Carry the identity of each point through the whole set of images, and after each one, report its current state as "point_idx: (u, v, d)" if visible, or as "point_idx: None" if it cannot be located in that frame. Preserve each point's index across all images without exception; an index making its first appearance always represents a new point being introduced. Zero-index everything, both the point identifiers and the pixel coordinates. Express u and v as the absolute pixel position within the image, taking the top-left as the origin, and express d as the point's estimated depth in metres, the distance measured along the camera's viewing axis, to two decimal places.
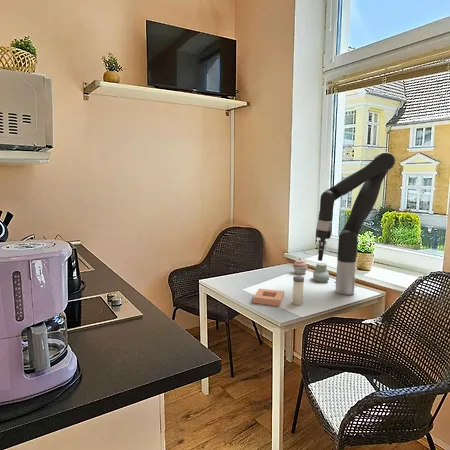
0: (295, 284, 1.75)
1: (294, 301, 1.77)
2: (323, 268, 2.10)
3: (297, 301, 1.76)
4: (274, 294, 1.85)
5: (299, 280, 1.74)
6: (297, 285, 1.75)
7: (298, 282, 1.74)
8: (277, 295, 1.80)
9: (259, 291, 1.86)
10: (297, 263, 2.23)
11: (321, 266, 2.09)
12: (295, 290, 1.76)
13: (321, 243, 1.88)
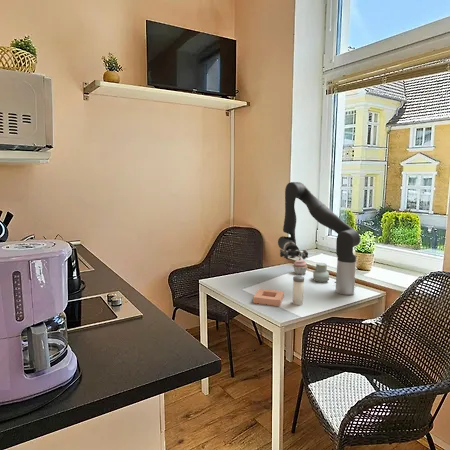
0: (295, 284, 1.75)
1: (294, 301, 1.77)
2: (323, 268, 2.10)
3: (297, 301, 1.76)
4: (274, 294, 1.85)
5: (299, 280, 1.74)
6: (297, 285, 1.75)
7: (298, 282, 1.74)
8: (277, 295, 1.80)
9: (259, 291, 1.86)
10: (297, 263, 2.23)
11: (321, 266, 2.09)
12: (295, 290, 1.76)
13: None
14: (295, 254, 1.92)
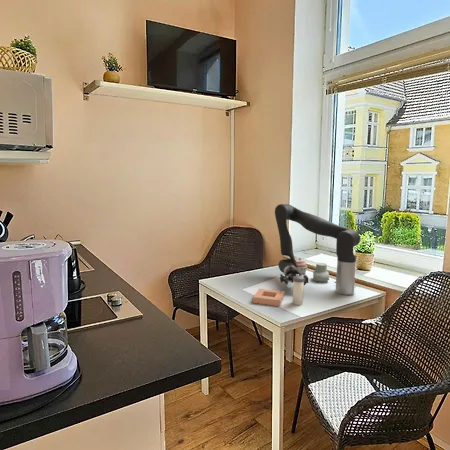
0: (295, 284, 1.75)
1: (294, 301, 1.77)
2: (323, 268, 2.10)
3: (297, 301, 1.76)
4: (274, 294, 1.85)
5: (299, 280, 1.74)
6: (297, 285, 1.75)
7: (298, 282, 1.74)
8: (277, 295, 1.80)
9: (259, 291, 1.86)
10: (297, 263, 2.23)
11: (321, 266, 2.09)
12: (295, 290, 1.76)
13: None
14: None
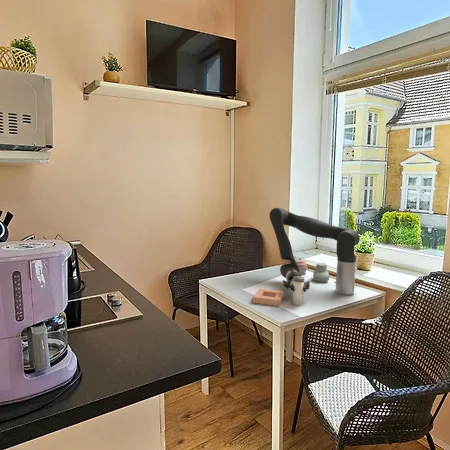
0: (295, 284, 1.75)
1: (294, 301, 1.77)
2: (323, 268, 2.10)
3: (297, 301, 1.76)
4: (274, 294, 1.85)
5: (299, 280, 1.74)
6: (297, 285, 1.75)
7: (298, 282, 1.74)
8: (277, 295, 1.80)
9: (259, 291, 1.86)
10: (297, 263, 2.23)
11: (321, 266, 2.09)
12: (295, 290, 1.76)
13: None
14: None
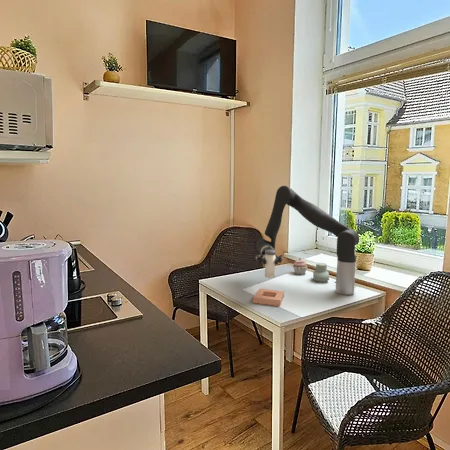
0: (267, 257, 1.77)
1: (266, 274, 1.79)
2: (323, 268, 2.10)
3: (268, 274, 1.78)
4: (274, 294, 1.85)
5: (270, 253, 1.76)
6: (269, 257, 1.77)
7: (269, 255, 1.77)
8: (277, 295, 1.80)
9: (259, 291, 1.86)
10: (297, 263, 2.23)
11: (321, 266, 2.09)
12: (267, 263, 1.78)
13: (256, 257, 1.86)
14: None
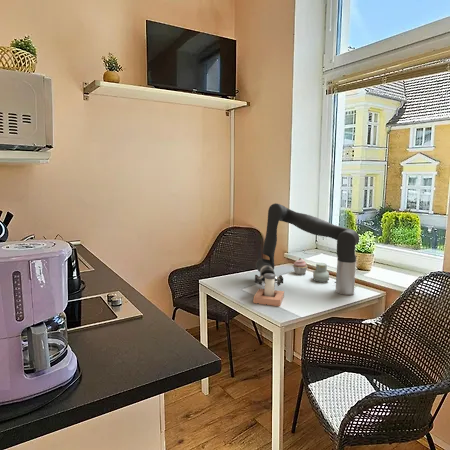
0: (266, 281, 1.79)
1: None
2: (323, 268, 2.10)
3: None
4: (274, 294, 1.85)
5: (270, 277, 1.78)
6: (268, 281, 1.79)
7: (269, 279, 1.79)
8: (277, 295, 1.80)
9: (259, 291, 1.86)
10: (297, 263, 2.23)
11: (321, 266, 2.09)
12: (266, 287, 1.80)
13: None
14: None
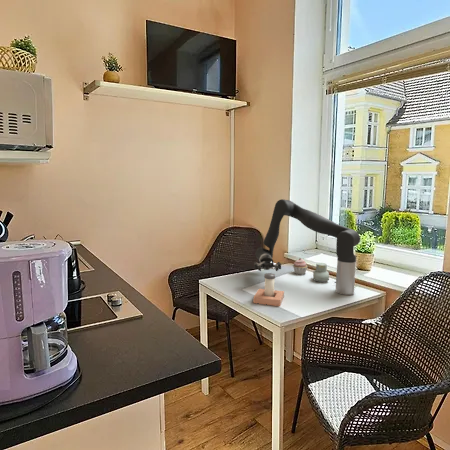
0: (266, 281, 1.79)
1: None
2: (323, 268, 2.10)
3: None
4: (274, 294, 1.85)
5: (270, 277, 1.78)
6: (268, 281, 1.79)
7: (268, 279, 1.79)
8: (277, 295, 1.80)
9: (259, 291, 1.86)
10: (297, 263, 2.23)
11: (321, 266, 2.09)
12: (266, 287, 1.80)
13: None
14: (269, 266, 1.97)
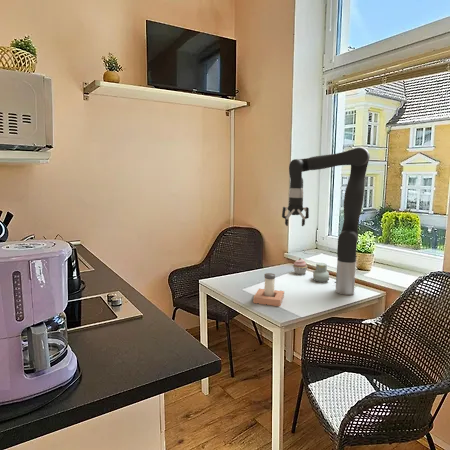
0: (266, 281, 1.79)
1: None
2: (323, 268, 2.10)
3: None
4: (274, 294, 1.85)
5: (270, 277, 1.78)
6: (268, 281, 1.79)
7: (268, 279, 1.79)
8: (277, 295, 1.80)
9: (259, 291, 1.86)
10: (297, 263, 2.23)
11: (321, 266, 2.09)
12: (266, 287, 1.80)
13: (283, 208, 2.01)
14: (296, 214, 2.01)
